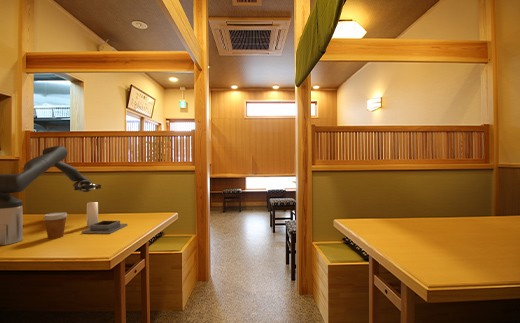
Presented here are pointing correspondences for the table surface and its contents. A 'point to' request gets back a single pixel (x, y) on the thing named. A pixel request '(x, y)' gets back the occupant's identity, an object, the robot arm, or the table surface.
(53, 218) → the disposable coffee cup
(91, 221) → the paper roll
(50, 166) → the robot arm
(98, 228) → the stand
